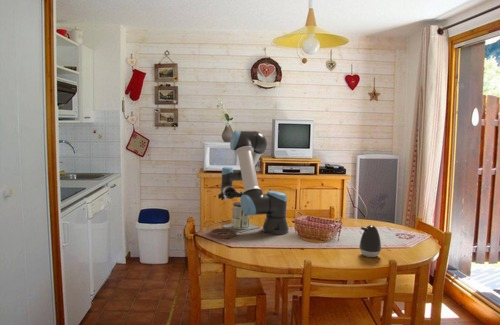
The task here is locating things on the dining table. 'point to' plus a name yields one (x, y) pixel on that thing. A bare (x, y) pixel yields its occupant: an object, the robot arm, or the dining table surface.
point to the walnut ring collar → (223, 235)
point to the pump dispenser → (370, 242)
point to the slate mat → (240, 229)
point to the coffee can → (239, 217)
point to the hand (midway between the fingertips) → (236, 198)
